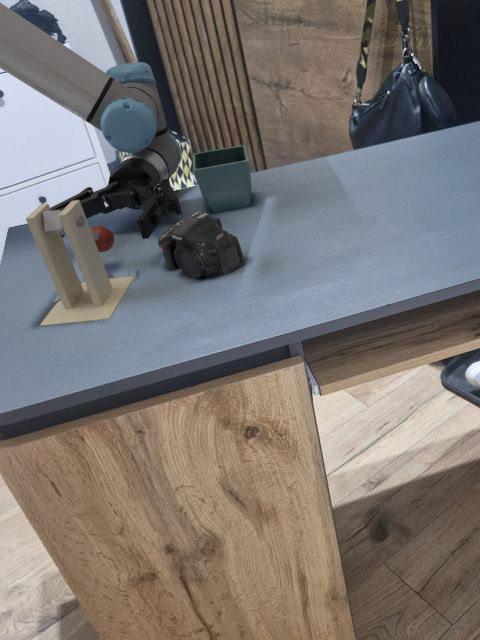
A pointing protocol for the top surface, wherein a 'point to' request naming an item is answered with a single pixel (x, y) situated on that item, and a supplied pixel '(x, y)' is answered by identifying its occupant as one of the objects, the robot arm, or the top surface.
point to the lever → (100, 233)
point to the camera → (201, 247)
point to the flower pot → (224, 177)
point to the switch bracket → (75, 297)
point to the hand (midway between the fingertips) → (94, 234)
